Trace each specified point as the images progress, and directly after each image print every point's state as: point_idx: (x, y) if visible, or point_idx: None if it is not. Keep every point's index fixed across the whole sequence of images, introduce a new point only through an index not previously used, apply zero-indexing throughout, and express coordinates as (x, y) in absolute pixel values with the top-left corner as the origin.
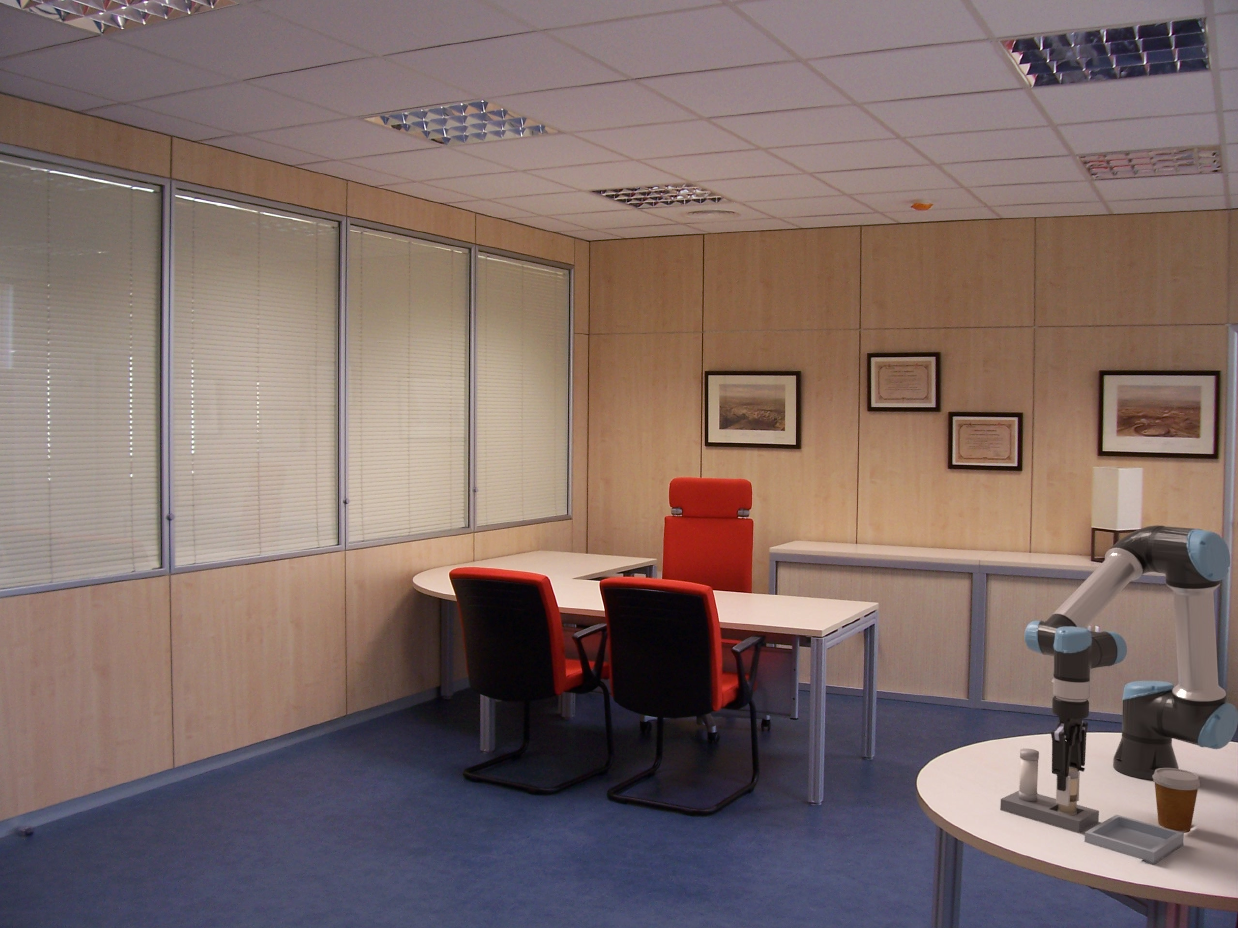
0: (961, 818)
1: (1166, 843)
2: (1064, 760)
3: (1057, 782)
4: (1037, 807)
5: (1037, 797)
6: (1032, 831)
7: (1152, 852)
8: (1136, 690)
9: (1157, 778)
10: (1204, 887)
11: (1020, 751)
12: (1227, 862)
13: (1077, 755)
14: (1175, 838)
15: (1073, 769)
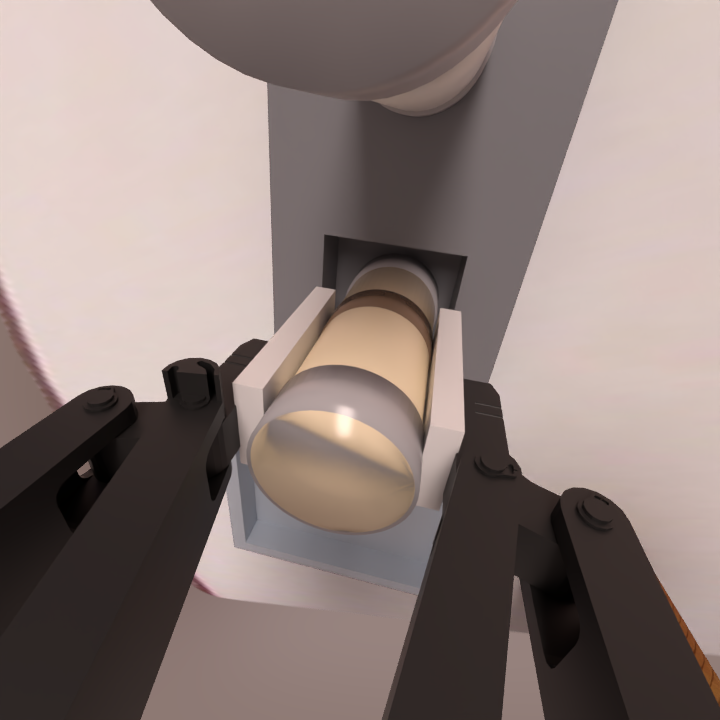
0: None
1: (322, 568)
2: (29, 591)
3: (221, 365)
4: (302, 172)
5: (500, 89)
6: (184, 201)
7: (234, 543)
8: None
9: None
10: (220, 576)
11: None
12: (387, 616)
13: (396, 671)
14: (380, 584)
15: (345, 507)
